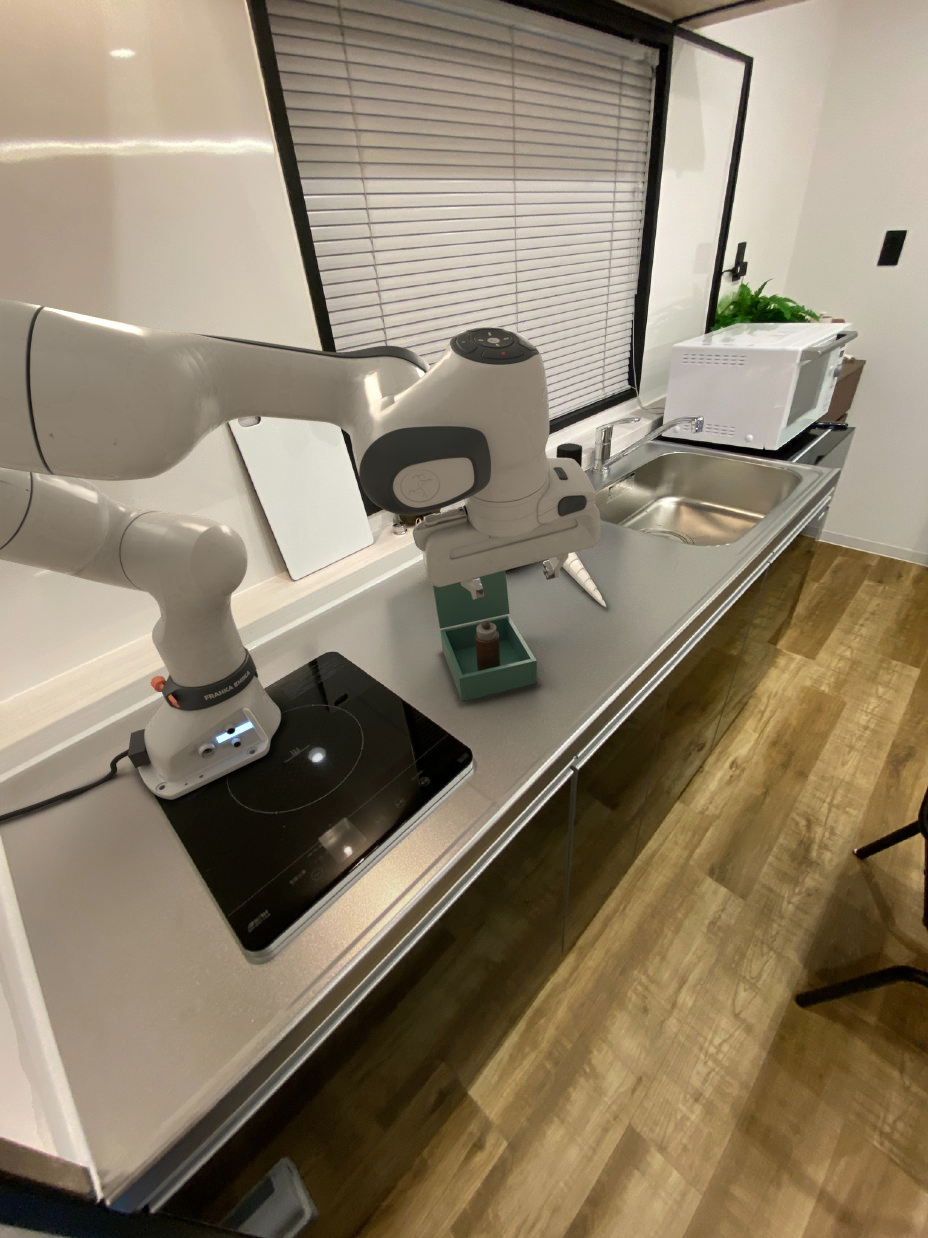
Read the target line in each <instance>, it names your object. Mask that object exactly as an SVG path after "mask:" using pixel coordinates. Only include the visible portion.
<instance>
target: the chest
mask: <svg viewBox="0 0 928 1238" xmlns="http://www.w3.org/2000/svg"><path fill="white" fill-rule="evenodd" d="M484 621H488V622H491V623H493V624H495V626H496V631H497V632H498V633H499V646H500V666H498V667H494V668H490V669H485V670H481V671H478V669H477V657H476V645H475V634H476V632H477V629H476V628H477V626H478V625H479V624H480V623H483V622H484ZM439 632H440V633H439V634H440V639H441V649H442V653H443V655H444V659H445V661H446V663H447V666H448V668H449V671H450V674H451V676H452V679H453V682H454V685H455V687H456V690H457V693H458V696H459V698H460V700H461V702H463V701H468V700H472V699H477V698H480V697H485V696H489V695H493V694H497V693H500V692H505V691H510V690H514V689H517V688H521V687H526V686H530V685H534V684H537V683H538V674H537V673H538V672H537V671H538V665H537V664H538V661H537V659H536V657H535V655H534V654H533V652H532V651H531V649H530V647H529V645H528V644H527V642H526V641H525V639H524V638H523V636H522V634H521V633H520V631H519V629H518V627H517V626H516V624H515V623H514V621H513V619H512V617H511V616H510V614H506V615H501V616H497V617H492V618H488V619H483V620H478V621H474V622H469V623H465V624H460V625H455V626H451V627H446V628H442V629H440V630H439Z"/></svg>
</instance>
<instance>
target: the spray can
mask: <svg viewBox="0 0 928 1238" xmlns="http://www.w3.org/2000/svg"><path fill="white" fill-rule="evenodd" d="M555 458H571V459H574V460H575V461H576V462H577V463H578V464H579V465H580V467H581V468H582V466H583V460H582V459H583V445H581V444H579V443H578V444H577V443H572V442H566V443H561V444H559V445H557V447H556V457H555Z"/></svg>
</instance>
